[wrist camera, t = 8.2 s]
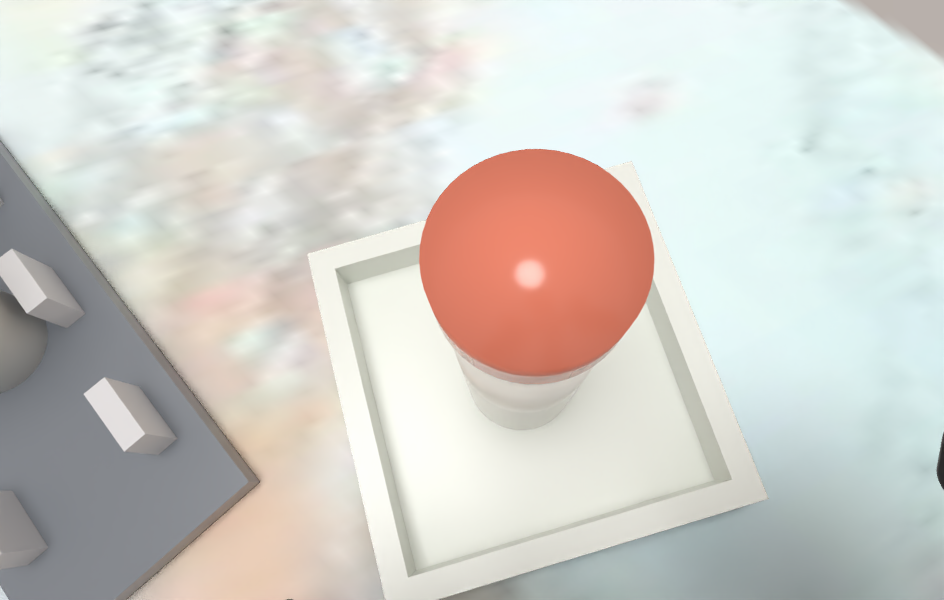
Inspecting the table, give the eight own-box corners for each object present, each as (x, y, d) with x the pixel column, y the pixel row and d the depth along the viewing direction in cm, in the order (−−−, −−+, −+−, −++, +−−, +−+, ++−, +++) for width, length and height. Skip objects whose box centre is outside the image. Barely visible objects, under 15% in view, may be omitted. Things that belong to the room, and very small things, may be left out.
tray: (738, 497, 21) (768, 499, 19) (402, 600, 21) (388, 614, 18) (619, 193, 24) (631, 160, 22) (327, 276, 24) (307, 253, 22)
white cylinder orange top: (566, 444, 21) (636, 392, 10) (454, 420, 22) (394, 343, 10) (584, 334, 22) (668, 168, 11) (477, 313, 23) (446, 132, 11)
